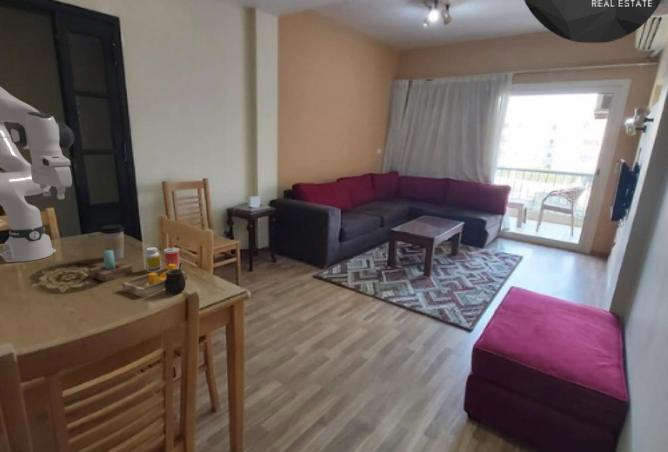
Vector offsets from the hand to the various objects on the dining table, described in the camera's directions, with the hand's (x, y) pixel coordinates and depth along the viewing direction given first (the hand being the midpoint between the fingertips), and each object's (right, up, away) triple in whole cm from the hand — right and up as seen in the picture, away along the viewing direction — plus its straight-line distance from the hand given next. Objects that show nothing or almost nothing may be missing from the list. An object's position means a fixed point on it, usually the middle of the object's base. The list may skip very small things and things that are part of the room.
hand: (54, 197), depth 128 cm
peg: (+11, -31, +15) cm, 36 cm away
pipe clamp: (+36, -34, +8) cm, 50 cm away
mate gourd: (+44, -35, +3) cm, 56 cm away
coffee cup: (+1, -26, +34) cm, 43 cm away
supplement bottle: (+26, -30, +21) cm, 45 cm away
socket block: (+12, -31, +15) cm, 36 cm away
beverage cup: (+33, -30, +23) cm, 50 cm away
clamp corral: (+34, -34, +7) cm, 48 cm away
